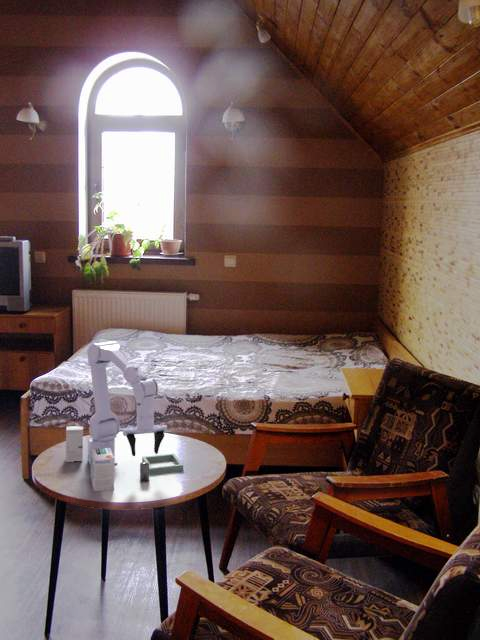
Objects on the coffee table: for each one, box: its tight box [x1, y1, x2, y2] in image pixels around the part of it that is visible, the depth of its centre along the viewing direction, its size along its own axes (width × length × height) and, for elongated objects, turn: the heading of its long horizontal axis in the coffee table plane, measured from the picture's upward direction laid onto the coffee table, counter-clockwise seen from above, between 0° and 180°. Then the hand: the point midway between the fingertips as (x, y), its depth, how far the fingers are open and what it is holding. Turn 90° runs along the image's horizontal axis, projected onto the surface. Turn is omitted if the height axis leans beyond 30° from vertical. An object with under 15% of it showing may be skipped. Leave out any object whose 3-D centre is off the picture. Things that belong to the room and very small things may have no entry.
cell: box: [139, 462, 150, 483], centre depth 222 cm, size 3×3×6 cm
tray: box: [141, 453, 184, 475], centre depth 236 cm, size 12×12×2 cm
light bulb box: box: [90, 448, 115, 492], centre depth 218 cm, size 11×7×11 cm, turn 19°
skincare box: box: [65, 425, 84, 463], centre depth 239 cm, size 6×4×12 cm
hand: (144, 454), depth 221 cm, fingers open, 7 cm apart
